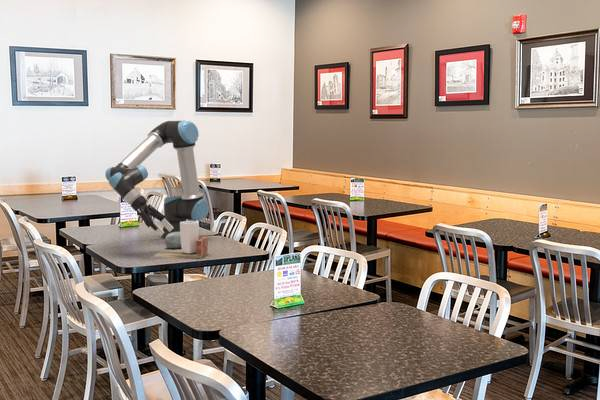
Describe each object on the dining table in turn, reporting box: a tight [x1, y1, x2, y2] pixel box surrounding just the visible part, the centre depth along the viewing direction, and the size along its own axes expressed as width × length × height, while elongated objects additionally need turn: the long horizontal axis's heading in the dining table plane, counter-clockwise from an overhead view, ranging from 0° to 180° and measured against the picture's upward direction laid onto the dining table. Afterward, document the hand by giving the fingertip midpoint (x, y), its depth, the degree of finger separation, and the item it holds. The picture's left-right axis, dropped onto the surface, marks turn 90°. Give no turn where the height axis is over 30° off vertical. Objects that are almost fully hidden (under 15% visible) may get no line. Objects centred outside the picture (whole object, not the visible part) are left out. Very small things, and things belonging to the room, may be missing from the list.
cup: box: [180, 220, 200, 254], centre depth 308 cm, size 7×7×15 cm
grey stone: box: [164, 232, 182, 249], centre depth 330 cm, size 14×10×10 cm
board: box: [154, 236, 209, 260], centre depth 309 cm, size 12×22×8 cm, turn 82°
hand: (167, 232), depth 309 cm, fingers open, 13 cm apart
